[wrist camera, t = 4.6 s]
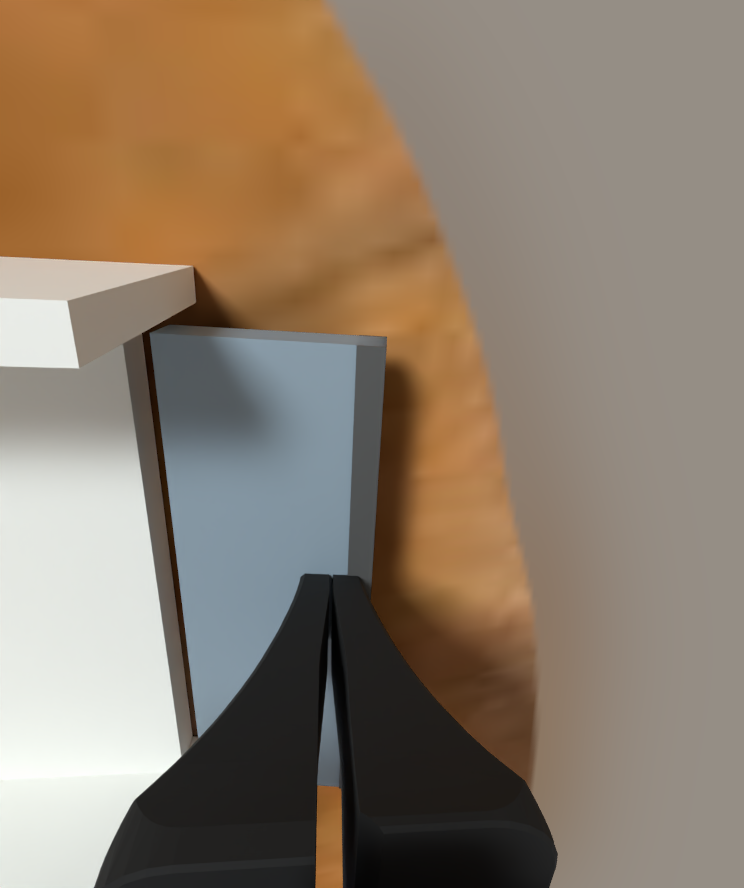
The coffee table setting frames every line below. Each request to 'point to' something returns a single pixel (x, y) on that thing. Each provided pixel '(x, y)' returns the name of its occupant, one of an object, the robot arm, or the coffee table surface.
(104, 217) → the coffee table surface
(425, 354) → the coffee table surface
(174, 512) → the door panel
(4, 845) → the white cubby shelf
